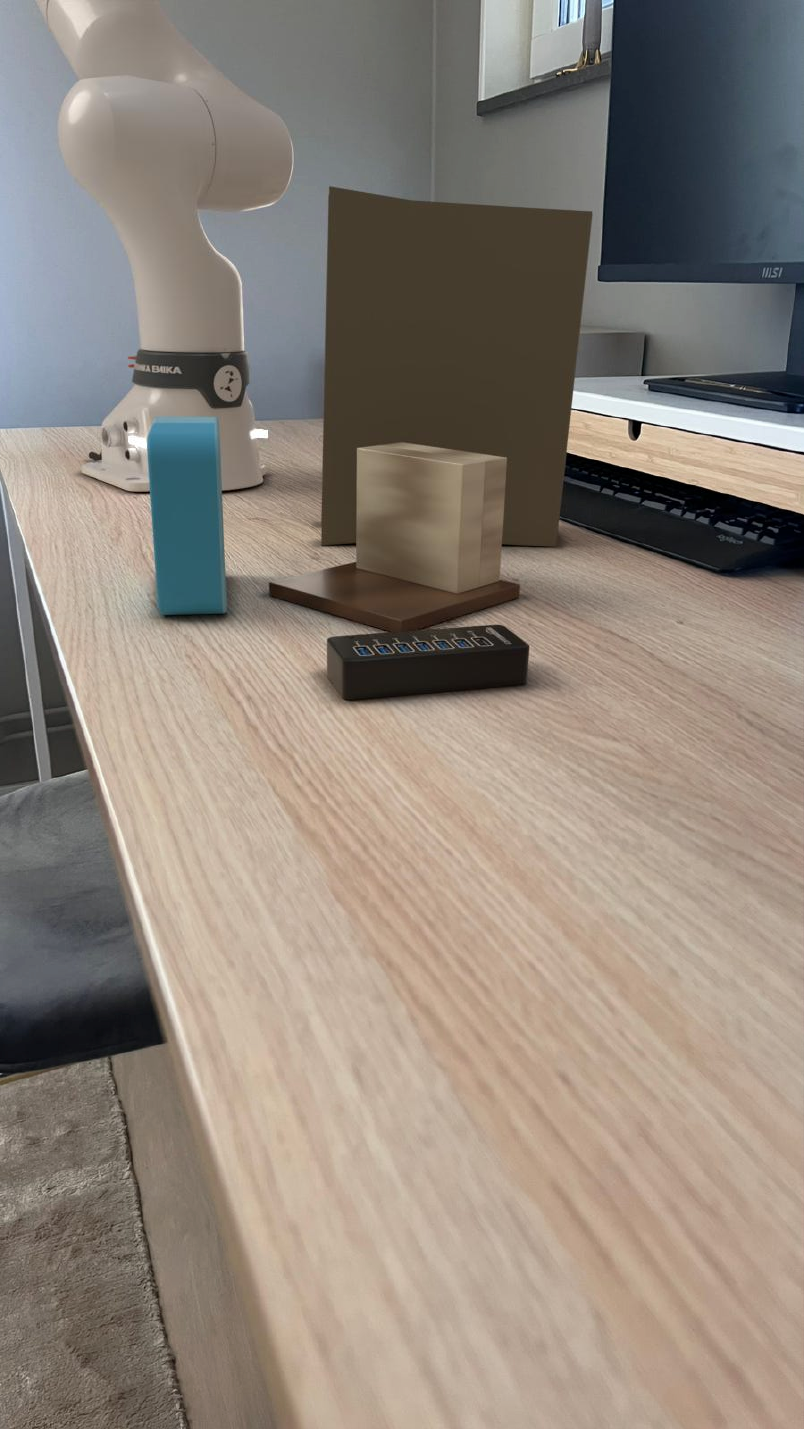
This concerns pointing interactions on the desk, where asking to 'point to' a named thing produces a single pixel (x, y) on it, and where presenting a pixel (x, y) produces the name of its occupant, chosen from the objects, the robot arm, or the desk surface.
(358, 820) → the desk surface
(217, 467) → the data package
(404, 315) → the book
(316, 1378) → the desk surface
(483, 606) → the wood block on base
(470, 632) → the multiport hub
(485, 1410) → the desk surface
